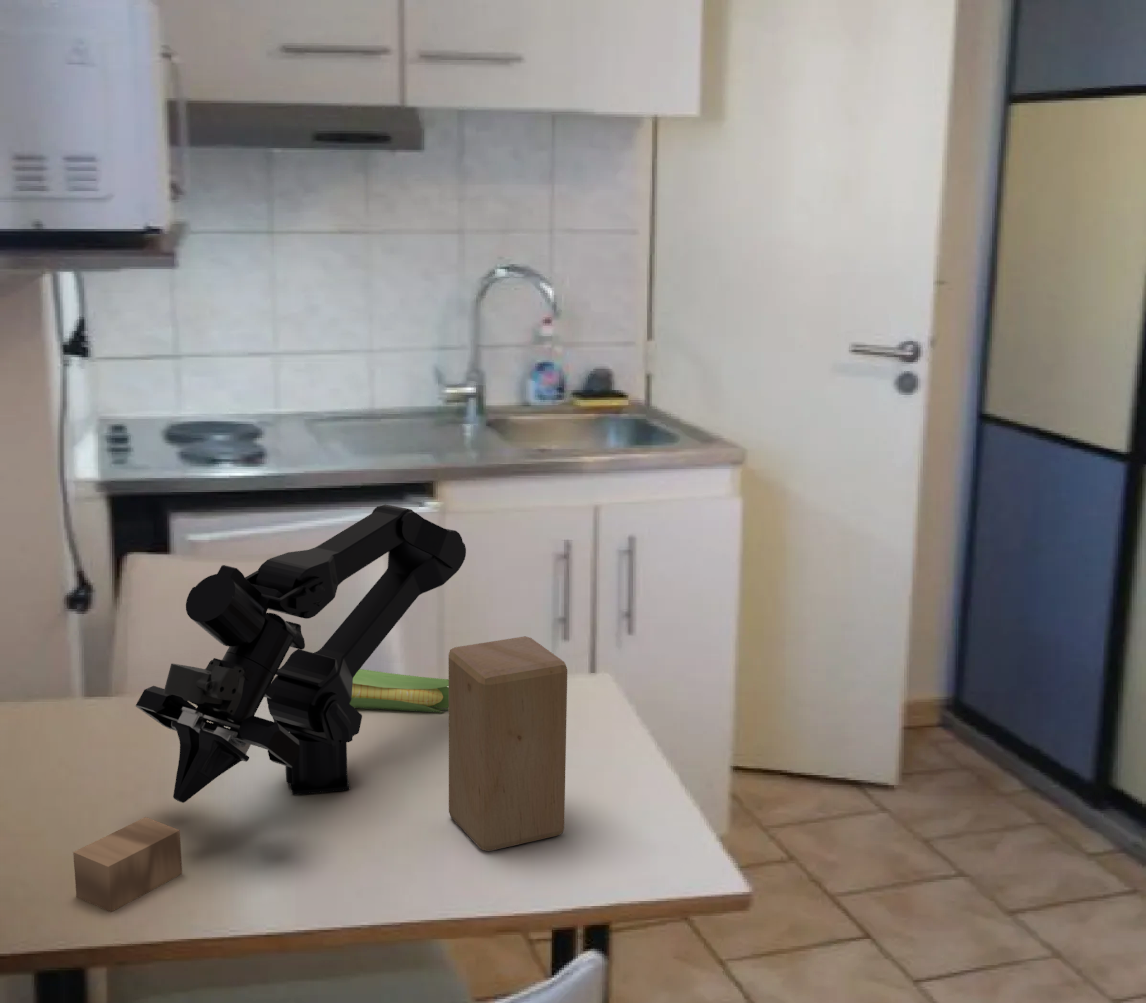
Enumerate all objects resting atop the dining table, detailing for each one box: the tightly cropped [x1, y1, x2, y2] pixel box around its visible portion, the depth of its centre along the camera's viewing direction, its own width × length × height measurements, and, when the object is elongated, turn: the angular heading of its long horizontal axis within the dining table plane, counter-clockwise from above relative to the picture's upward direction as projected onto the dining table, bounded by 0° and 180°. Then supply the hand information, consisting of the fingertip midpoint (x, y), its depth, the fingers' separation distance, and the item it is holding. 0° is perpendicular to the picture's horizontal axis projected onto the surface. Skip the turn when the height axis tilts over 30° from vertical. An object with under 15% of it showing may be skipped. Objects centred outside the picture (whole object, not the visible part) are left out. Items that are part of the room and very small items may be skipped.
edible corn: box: [349, 668, 449, 714], centre depth 191 cm, size 5×20×5 cm
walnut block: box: [72, 816, 183, 913], centre depth 146 cm, size 5×5×9 cm
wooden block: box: [448, 636, 568, 852], centre depth 158 cm, size 10×10×20 cm
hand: (178, 800), depth 151 cm, fingers closed
